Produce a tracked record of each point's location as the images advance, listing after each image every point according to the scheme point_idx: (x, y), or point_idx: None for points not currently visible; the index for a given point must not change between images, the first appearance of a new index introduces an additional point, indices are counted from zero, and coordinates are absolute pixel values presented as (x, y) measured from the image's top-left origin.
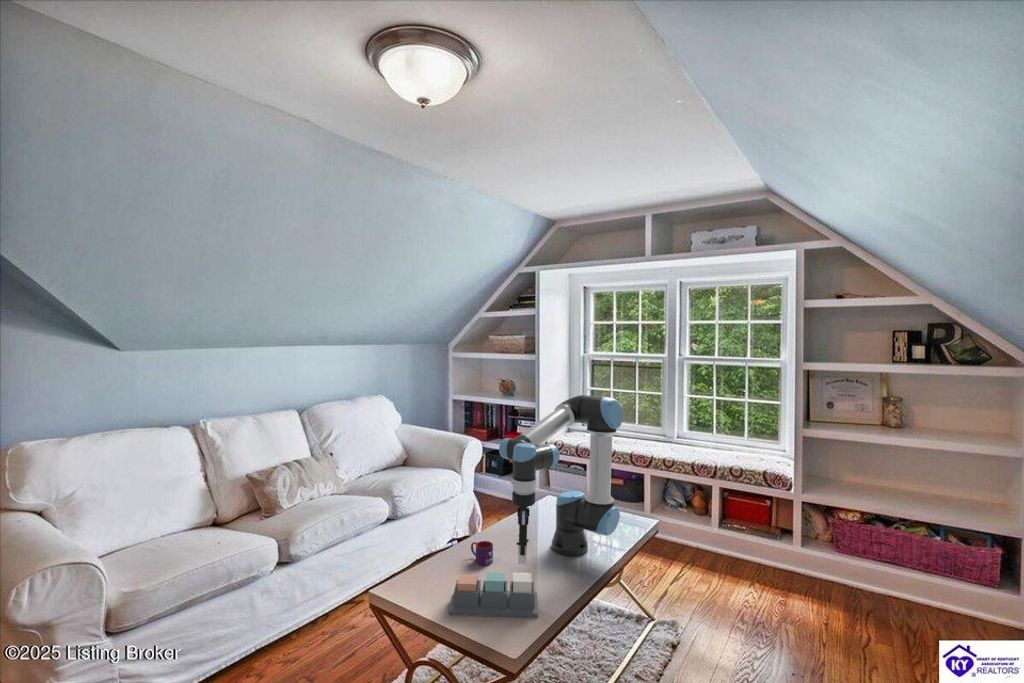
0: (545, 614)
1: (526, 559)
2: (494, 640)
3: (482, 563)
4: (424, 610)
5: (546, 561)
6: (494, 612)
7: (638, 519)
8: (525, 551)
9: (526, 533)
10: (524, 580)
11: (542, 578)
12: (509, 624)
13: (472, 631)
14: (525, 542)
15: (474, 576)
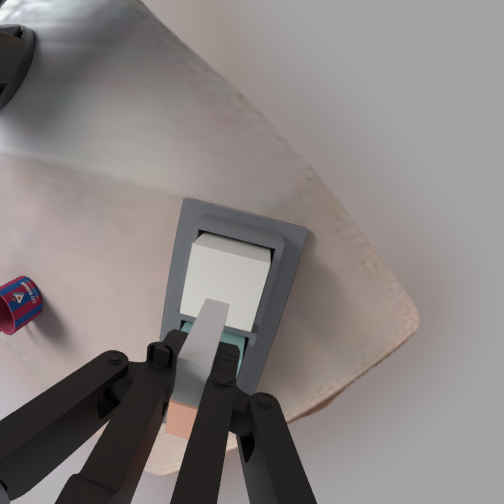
0: (295, 200)
1: (226, 316)
2: (362, 351)
3: (39, 308)
4: None
5: (31, 130)
6: (271, 344)
7: None
8: (218, 346)
9: (307, 489)
10: (250, 288)
11: (100, 156)
12: (316, 311)
13: (315, 387)
14: (280, 423)
15: (177, 410)
